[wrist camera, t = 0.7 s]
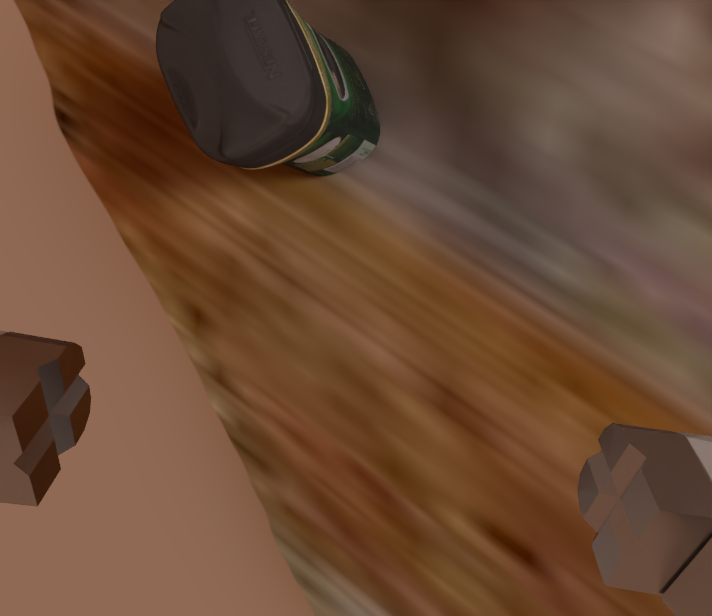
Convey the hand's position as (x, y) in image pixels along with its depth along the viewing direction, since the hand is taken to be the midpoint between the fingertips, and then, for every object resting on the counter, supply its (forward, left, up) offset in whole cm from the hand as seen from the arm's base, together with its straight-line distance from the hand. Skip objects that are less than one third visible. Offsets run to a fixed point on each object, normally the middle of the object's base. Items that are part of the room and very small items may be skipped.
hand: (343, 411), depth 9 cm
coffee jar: (+3, -15, -38) cm, 41 cm away
